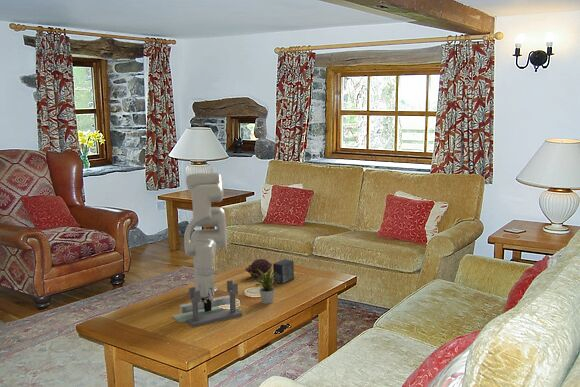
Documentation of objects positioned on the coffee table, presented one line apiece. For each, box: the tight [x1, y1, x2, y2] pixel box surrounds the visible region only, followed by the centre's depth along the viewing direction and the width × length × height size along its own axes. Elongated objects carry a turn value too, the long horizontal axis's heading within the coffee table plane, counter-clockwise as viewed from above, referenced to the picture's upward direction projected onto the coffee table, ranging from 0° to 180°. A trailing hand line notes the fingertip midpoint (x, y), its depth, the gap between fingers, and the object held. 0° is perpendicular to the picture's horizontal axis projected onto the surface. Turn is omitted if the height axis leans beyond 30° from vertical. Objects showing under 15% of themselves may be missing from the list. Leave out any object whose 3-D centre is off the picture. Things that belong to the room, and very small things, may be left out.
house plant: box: [251, 267, 279, 305], centre depth 288 cm, size 14×14×16 cm
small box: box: [272, 258, 295, 285], centre depth 319 cm, size 11×6×10 cm, turn 144°
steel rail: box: [179, 294, 230, 314], centre depth 274 cm, size 3×24×3 cm, turn 122°
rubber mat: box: [171, 306, 240, 324], centre depth 275 cm, size 9×29×1 cm, turn 122°
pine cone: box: [245, 258, 273, 279], centre depth 327 cm, size 18×10×10 cm, turn 133°
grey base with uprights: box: [186, 279, 243, 328], centre depth 266 cm, size 6×24×16 cm, turn 122°
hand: (206, 309), depth 274 cm, fingers closed on steel rail, 3 cm apart
